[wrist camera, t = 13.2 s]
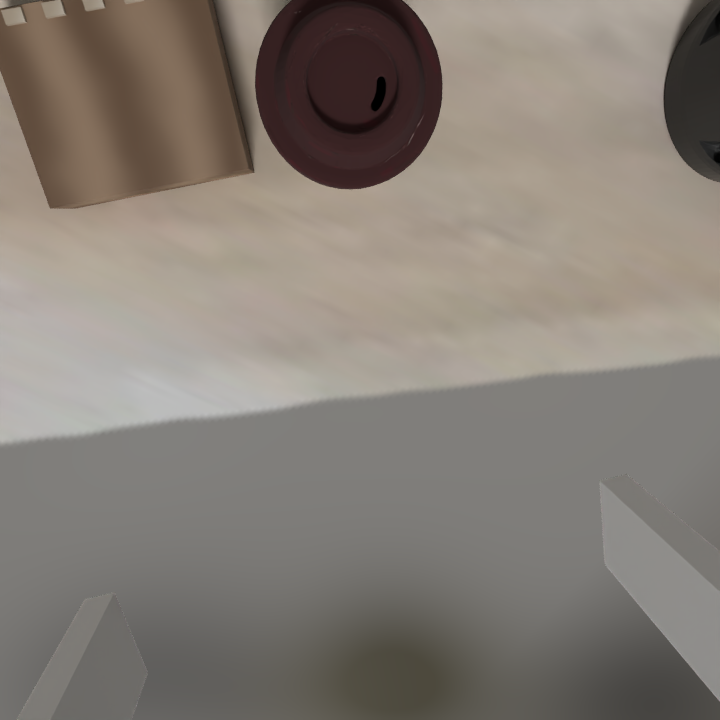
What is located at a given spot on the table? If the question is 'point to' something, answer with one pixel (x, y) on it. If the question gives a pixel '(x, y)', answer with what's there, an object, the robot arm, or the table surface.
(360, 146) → the coffee cup
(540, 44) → the table surface
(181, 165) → the brown block
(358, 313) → the table surface
